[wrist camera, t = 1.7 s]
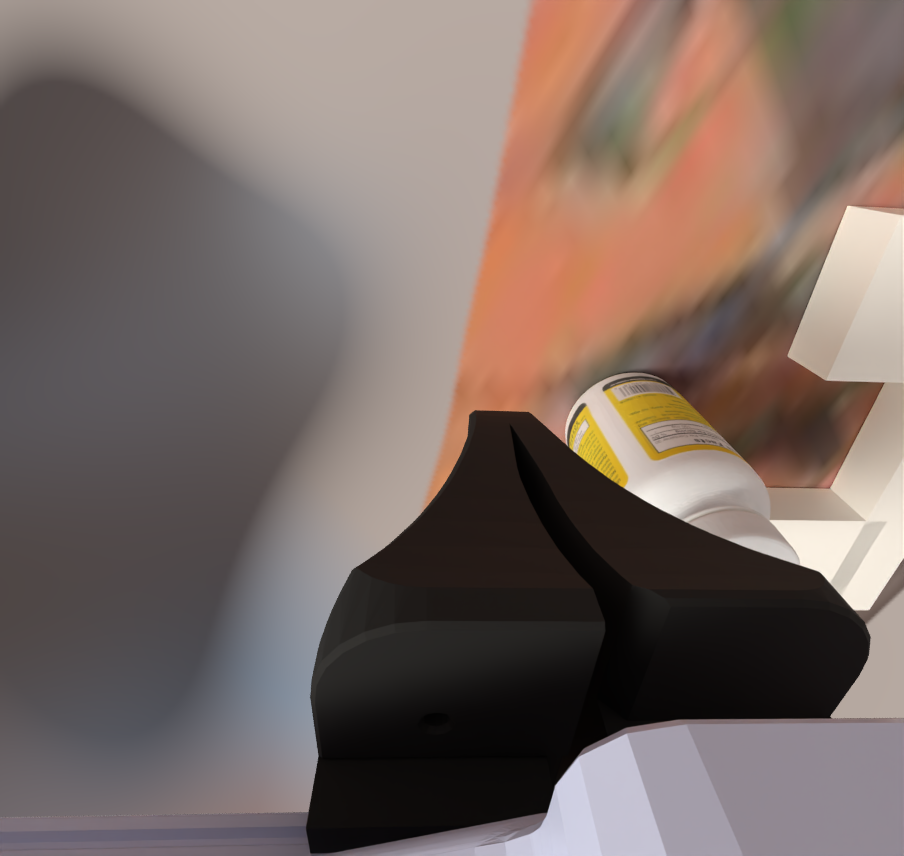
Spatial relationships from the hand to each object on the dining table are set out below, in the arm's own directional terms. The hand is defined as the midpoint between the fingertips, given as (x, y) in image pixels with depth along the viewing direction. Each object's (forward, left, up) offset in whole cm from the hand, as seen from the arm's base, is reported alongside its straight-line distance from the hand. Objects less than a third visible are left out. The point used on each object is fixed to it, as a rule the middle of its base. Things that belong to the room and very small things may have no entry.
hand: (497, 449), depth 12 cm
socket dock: (-5, -18, -10) cm, 21 cm away
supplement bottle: (-5, -7, -11) cm, 14 cm away
